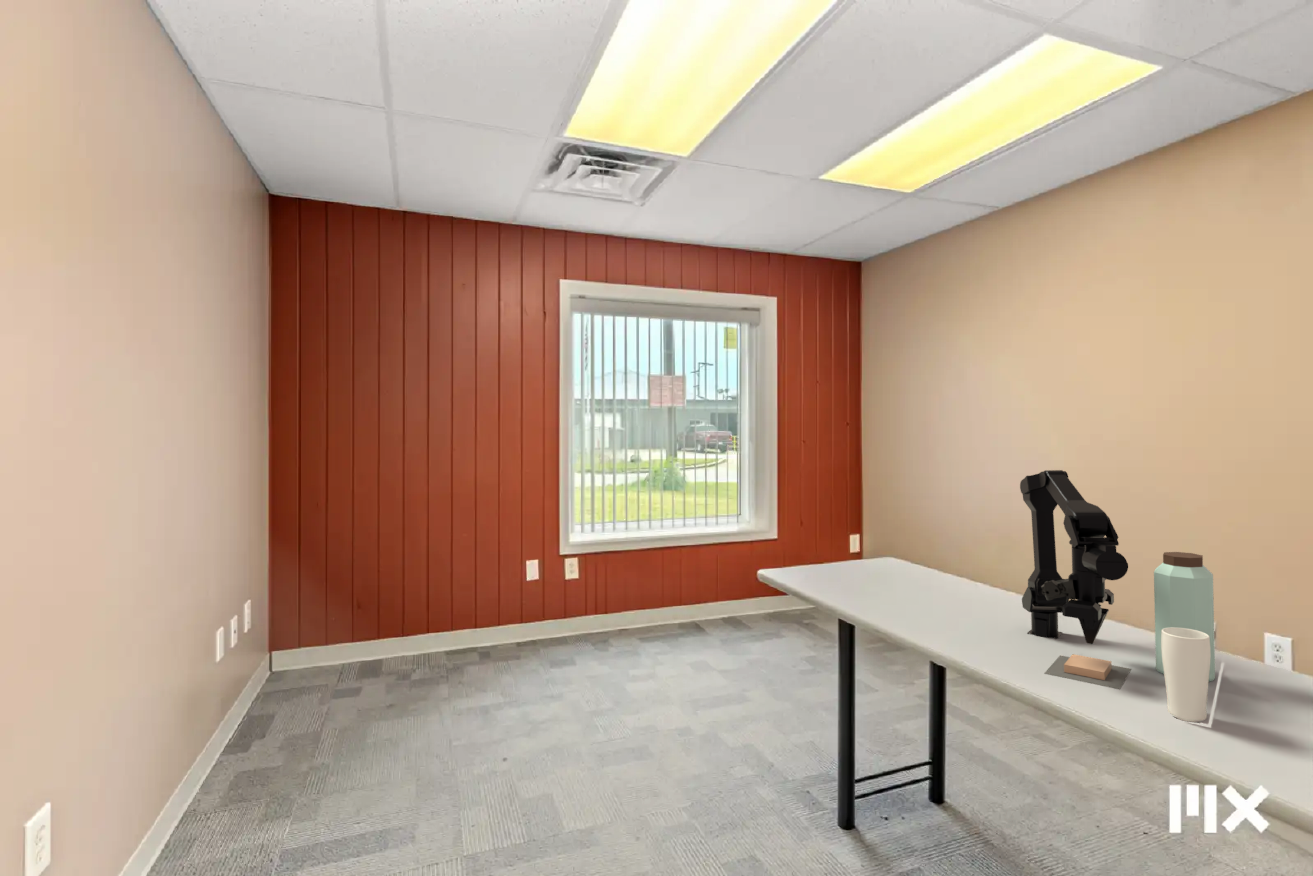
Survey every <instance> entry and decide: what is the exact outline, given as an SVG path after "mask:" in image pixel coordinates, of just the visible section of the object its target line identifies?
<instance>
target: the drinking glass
mask: <svg viewBox="0 0 1313 876" xmlns="http://www.w3.org/2000/svg"><path fill="white" fill-rule="evenodd" d="M1161 652H1162V662H1163V669H1164V674H1163V676H1164V685H1165V691H1166V700H1167V701H1166V702H1167V706H1166V708H1167V712H1168V713H1169V714H1170V715H1172V717H1173V718H1175V719H1177V720H1181V721H1182V722H1183V721H1184V722H1188V723H1198V722H1201V721H1205V720H1207V714H1208V713H1207V705H1208V693H1209V692H1208V691H1209V682H1210V681H1209V672H1210V659H1211V651H1210V637H1209V635H1207V634H1206V633H1203V632H1200V631H1197V630H1192V629H1186V628H1175V627H1170V628H1164V629H1162V630H1161Z"/></svg>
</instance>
